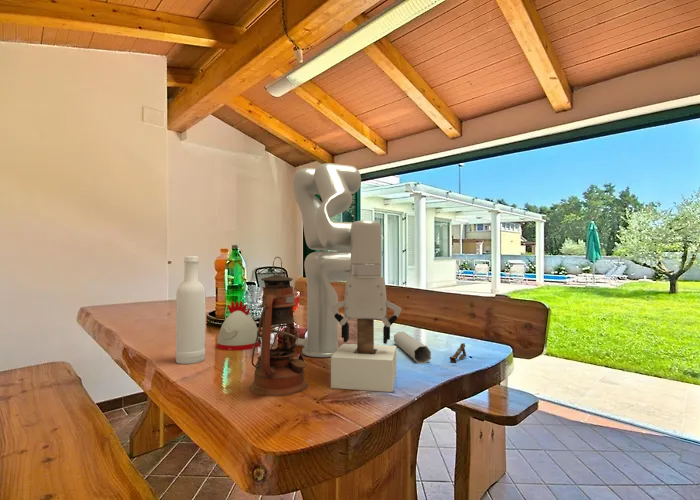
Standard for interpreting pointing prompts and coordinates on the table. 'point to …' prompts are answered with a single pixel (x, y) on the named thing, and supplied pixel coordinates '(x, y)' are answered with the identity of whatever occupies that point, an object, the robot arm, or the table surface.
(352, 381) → the bore block
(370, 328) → the pin
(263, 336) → the lantern
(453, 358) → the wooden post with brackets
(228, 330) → the white and red dome
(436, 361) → the table surface
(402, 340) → the tube
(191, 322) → the bottle
